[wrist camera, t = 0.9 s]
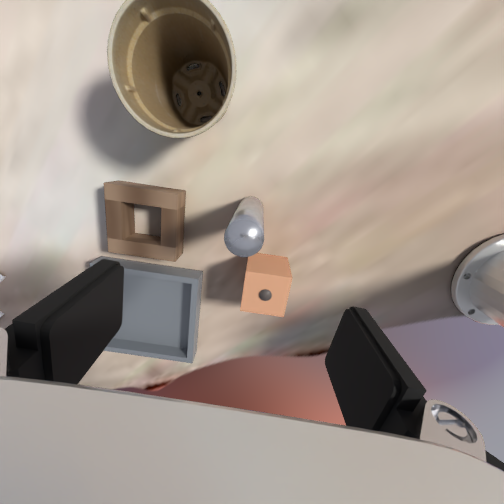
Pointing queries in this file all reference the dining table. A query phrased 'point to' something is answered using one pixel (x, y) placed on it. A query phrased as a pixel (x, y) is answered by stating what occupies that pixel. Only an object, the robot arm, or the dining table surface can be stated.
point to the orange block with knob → (266, 285)
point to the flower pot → (172, 64)
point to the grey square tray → (158, 311)
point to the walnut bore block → (123, 225)
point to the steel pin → (246, 228)
